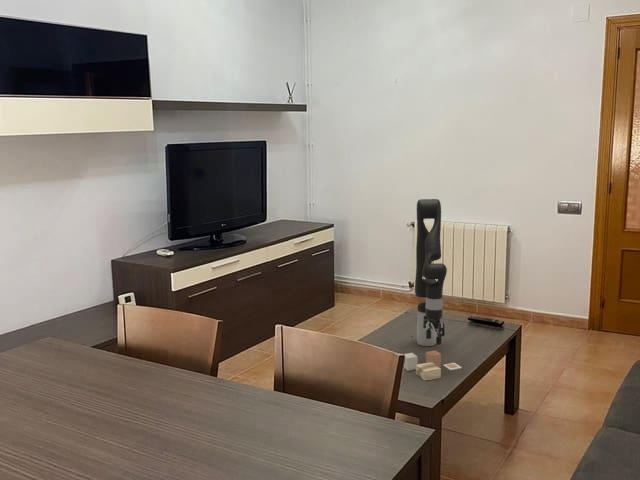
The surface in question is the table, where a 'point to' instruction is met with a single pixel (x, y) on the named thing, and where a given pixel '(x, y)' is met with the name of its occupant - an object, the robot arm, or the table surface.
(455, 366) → the card
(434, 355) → the terracotta block
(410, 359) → the grey block
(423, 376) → the birch base block
